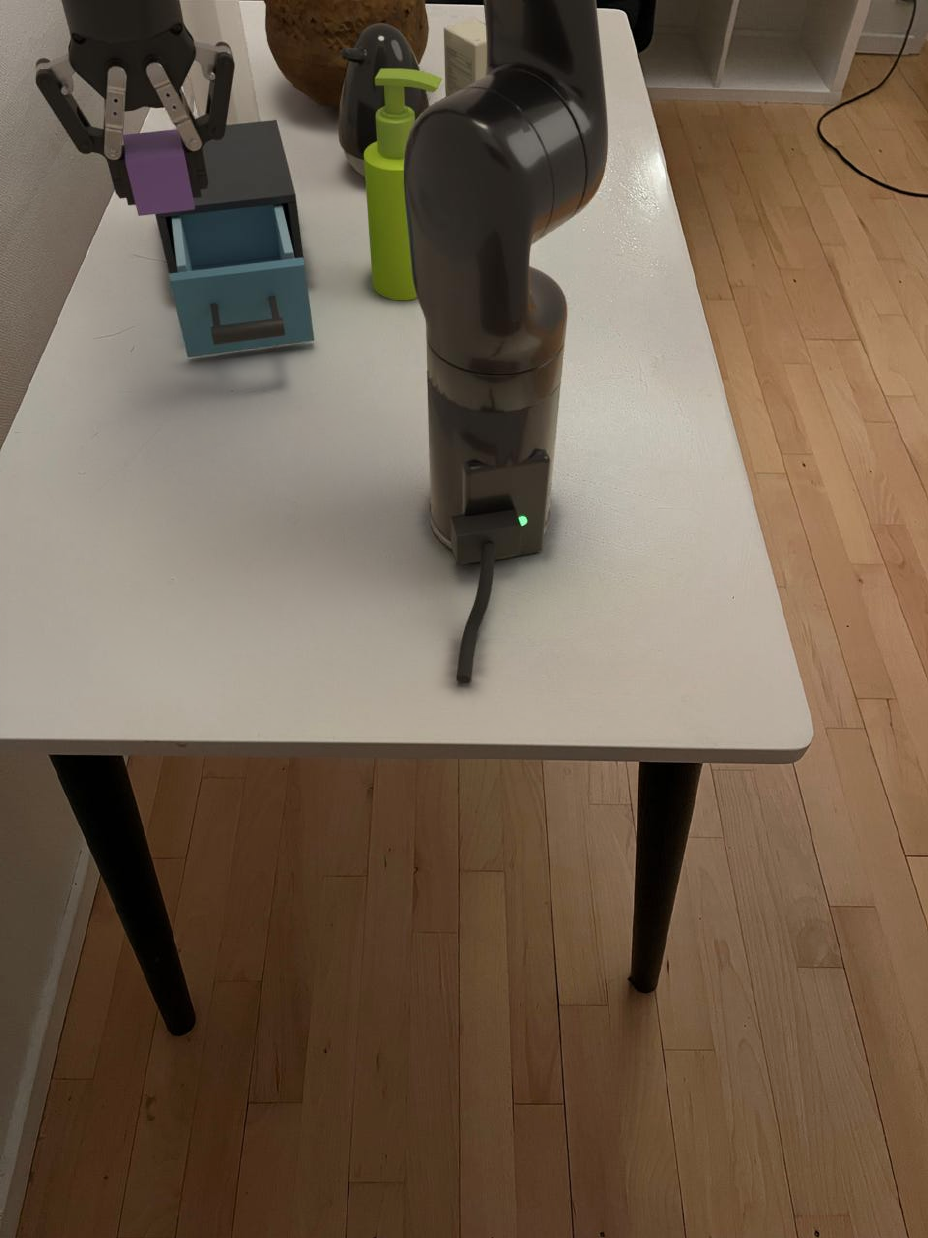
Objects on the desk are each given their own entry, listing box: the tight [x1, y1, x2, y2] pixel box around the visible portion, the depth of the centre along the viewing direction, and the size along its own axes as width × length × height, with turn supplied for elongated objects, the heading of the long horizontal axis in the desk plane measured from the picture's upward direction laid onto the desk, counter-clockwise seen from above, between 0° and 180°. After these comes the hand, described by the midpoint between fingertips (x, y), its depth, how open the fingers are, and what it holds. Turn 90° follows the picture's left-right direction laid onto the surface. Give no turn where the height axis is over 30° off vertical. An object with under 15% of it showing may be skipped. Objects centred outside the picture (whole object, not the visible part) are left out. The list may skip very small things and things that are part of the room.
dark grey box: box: [154, 119, 305, 275], centre depth 103 cm, size 15×13×10 cm
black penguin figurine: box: [337, 23, 430, 178], centre depth 112 cm, size 10×10×15 cm
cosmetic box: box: [443, 18, 487, 97], centre depth 117 cm, size 6×4×12 cm
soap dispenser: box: [364, 69, 443, 301], centre depth 96 cm, size 6×7×20 cm
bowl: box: [263, 0, 430, 109], centre depth 123 cm, size 19×19×15 cm
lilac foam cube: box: [122, 128, 195, 217], centre depth 79 cm, size 4×4×4 cm
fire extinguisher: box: [175, 0, 261, 129], centre depth 110 cm, size 7×12×25 cm, turn 103°
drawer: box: [168, 204, 315, 358], centre depth 95 cm, size 18×11×8 cm, turn 13°
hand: (164, 194), depth 81 cm, fingers closed on lilac foam cube, 4 cm apart
